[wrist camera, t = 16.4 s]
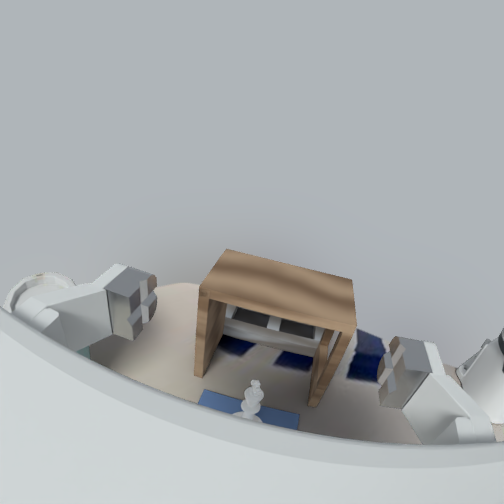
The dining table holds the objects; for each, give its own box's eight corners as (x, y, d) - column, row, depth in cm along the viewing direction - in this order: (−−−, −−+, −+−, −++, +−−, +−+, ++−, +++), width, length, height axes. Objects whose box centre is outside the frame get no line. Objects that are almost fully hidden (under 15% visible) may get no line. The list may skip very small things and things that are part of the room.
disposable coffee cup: (114, 407, 32) (91, 319, 25) (39, 421, 26) (-8, 336, 20) (96, 350, 40) (80, 263, 33) (32, 362, 34) (2, 275, 27)
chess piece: (231, 450, 30) (243, 407, 25) (218, 418, 34) (225, 368, 29) (270, 440, 32) (290, 394, 27) (254, 409, 36) (269, 360, 31)
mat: (288, 472, 28) (289, 472, 28) (180, 443, 30) (179, 442, 30) (298, 415, 36) (299, 414, 36) (204, 390, 38) (204, 389, 38)
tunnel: (316, 407, 38) (356, 325, 31) (193, 375, 40) (199, 286, 33) (322, 324, 54) (348, 251, 48) (231, 301, 57) (242, 226, 50)
